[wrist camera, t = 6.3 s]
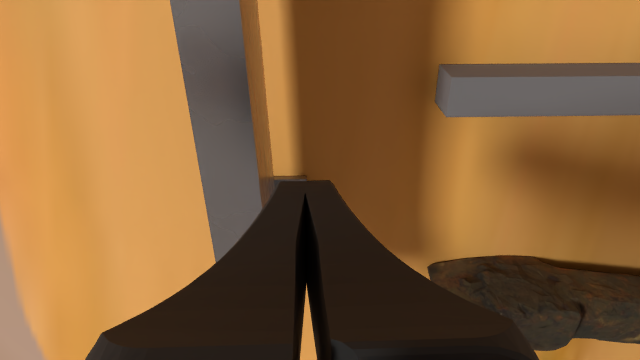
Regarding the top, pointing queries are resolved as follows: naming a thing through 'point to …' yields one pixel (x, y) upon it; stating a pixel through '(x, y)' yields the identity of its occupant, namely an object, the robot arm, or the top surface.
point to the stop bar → (538, 89)
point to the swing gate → (226, 111)
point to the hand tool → (547, 298)
